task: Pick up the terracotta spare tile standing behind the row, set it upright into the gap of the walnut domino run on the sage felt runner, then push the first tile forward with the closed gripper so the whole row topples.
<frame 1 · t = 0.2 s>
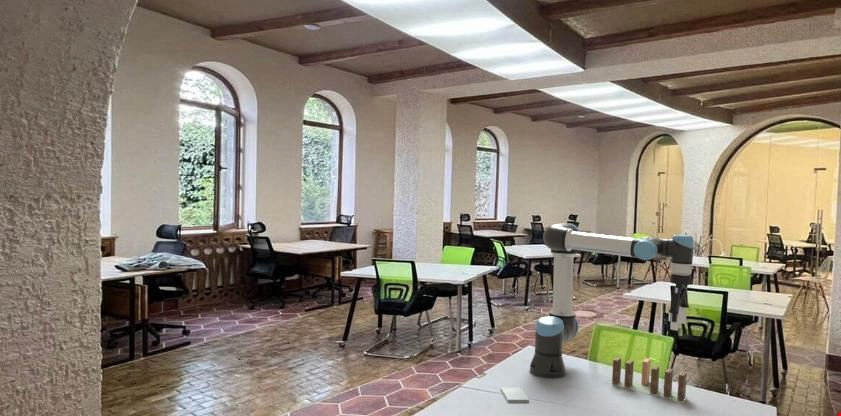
hand: (678, 326, 212), 27 cm above the table, fingers open, 13 cm apart
domino 2: (628, 385, 219), resting on felt runner
domino 1: (616, 382, 222), resting on felt runner
domino 4: (654, 392, 212), resting on felt runner
hard drive: (514, 397, 205), on the table
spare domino: (645, 383, 222), on the table
felt runner: (646, 390, 215), on the table
domino 5: (667, 395, 209), resting on felt runner
domino 6: (681, 398, 206), resting on felt runner
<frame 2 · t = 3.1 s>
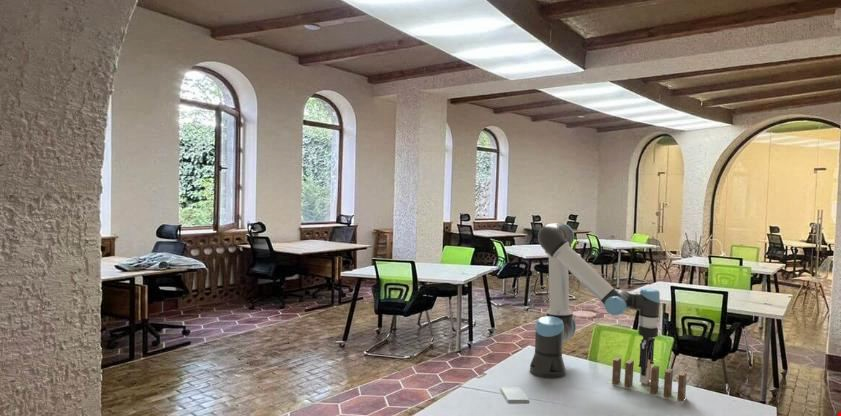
hand: (645, 380, 222), 1 cm above the table, fingers closed on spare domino, 5 cm apart
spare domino: (645, 383, 222), on the table, touching gripper
everything else where it was.
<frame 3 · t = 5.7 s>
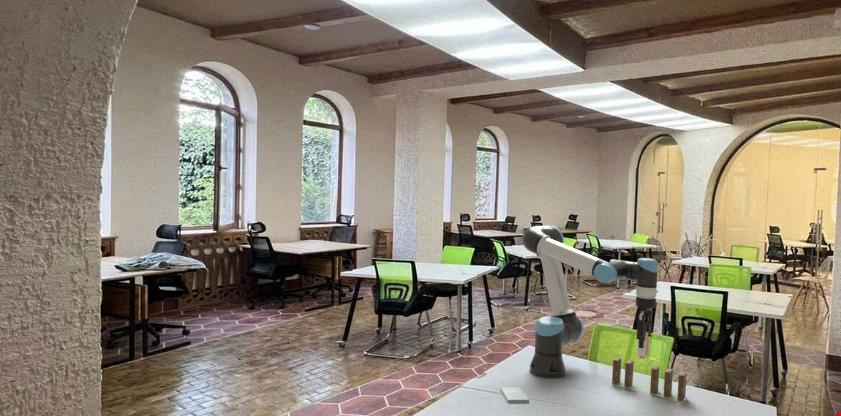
hand: (643, 353, 215), 15 cm above the table, fingers closed on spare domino, 5 cm apart
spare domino: (643, 357, 215), point 13 cm above the table, touching gripper
everything else where it was.
when the fingers open (2 cm above the table, at t = 8.1 s): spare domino stays where it is, resting on felt runner.
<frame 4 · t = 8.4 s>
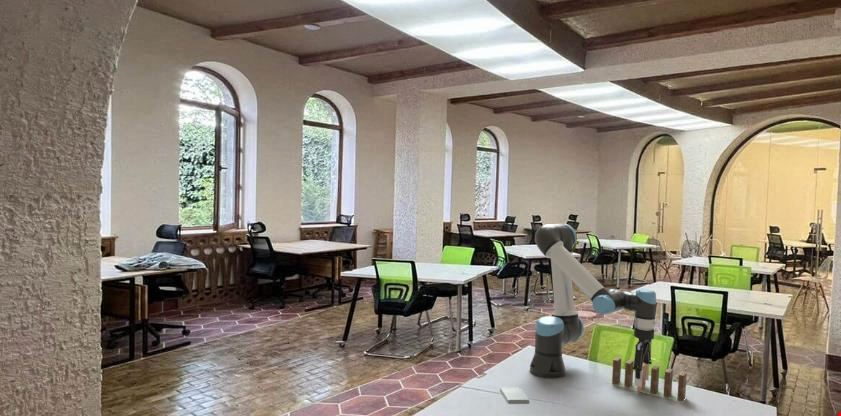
hand: (641, 382, 215), 3 cm above the table, fingers open, 9 cm apart
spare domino: (641, 388, 215), resting on felt runner
everything else where it was.
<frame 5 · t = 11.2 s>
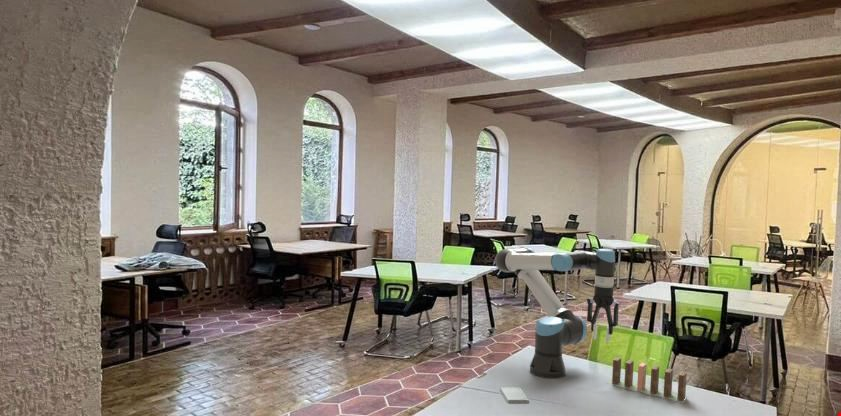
hand: (601, 340, 225), 17 cm above the table, fingers open, 5 cm apart
nothing on the table moved.
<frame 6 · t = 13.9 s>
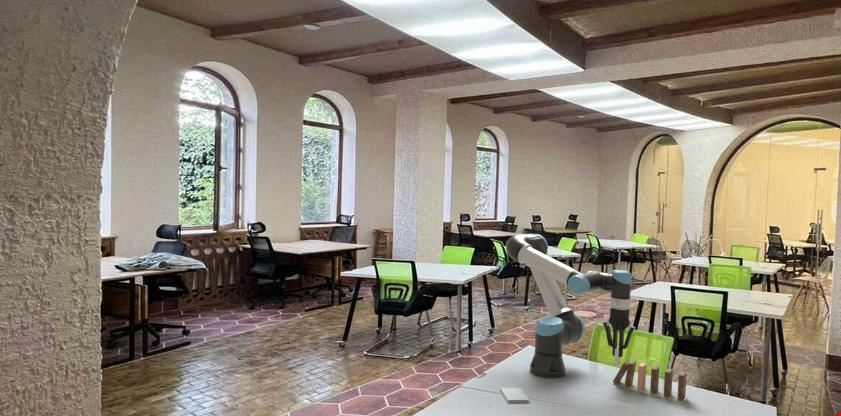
hand: (617, 363, 221), 8 cm above the table, fingers closed
domino 2: (628, 385, 219), resting on felt runner, tilted 6°
domino 1: (616, 381, 222), point 1 cm above the table, tilted 24°, touching felt runner
everything else where it was.
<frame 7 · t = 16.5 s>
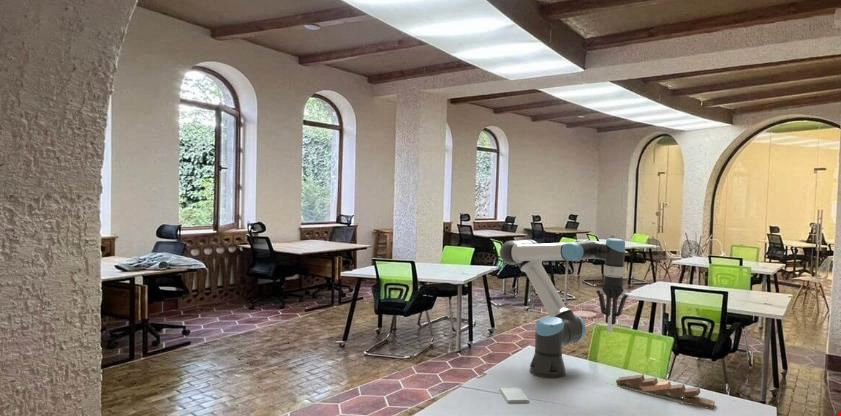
hand: (609, 331, 223), 21 cm above the table, fingers closed
domino 2: (630, 384, 218), point 1 cm above the table, tilted 69°, touching domino 1, felt runner, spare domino
domino 1: (618, 381, 221), point 1 cm above the table, tilted 69°, touching domino 2, felt runner
domino 4: (657, 390, 212), point 1 cm above the table, tilted 69°, touching domino 5, felt runner, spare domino
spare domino: (643, 387, 215), point 1 cm above the table, tilted 69°, touching domino 2, domino 4, felt runner
domino 5: (671, 394, 208), point 1 cm above the table, tilted 69°, touching domino 4, domino 6
domino 6: (684, 397, 206), point 1 cm above the table, tilted 92°, touching domino 5, felt runner
everything else where it was.
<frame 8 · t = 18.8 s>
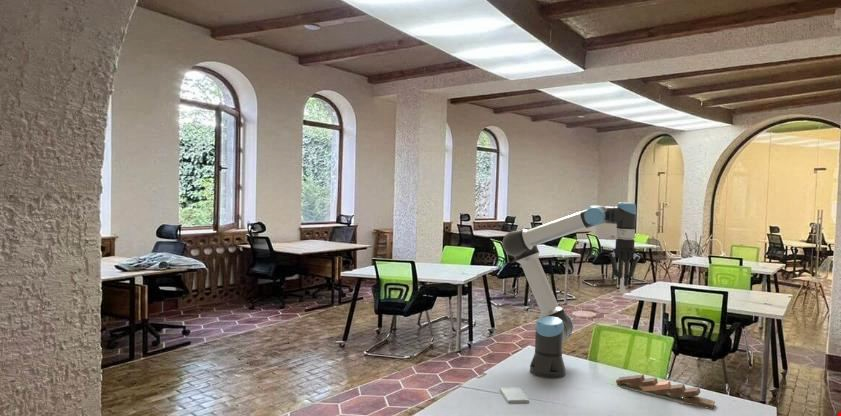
hand: (622, 293, 228), 36 cm above the table, fingers closed
nothing on the table moved.
at the end: domino 6 tilted 92°; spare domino tilted 69° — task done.
